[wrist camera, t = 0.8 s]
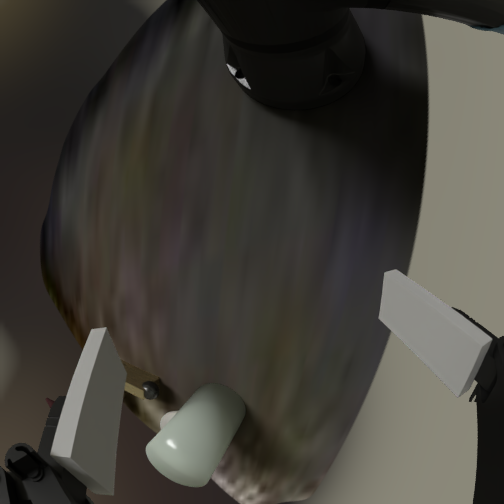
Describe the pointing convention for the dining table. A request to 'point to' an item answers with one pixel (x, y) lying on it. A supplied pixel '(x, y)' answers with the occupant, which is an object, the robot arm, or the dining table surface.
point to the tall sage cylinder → (197, 435)
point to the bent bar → (140, 382)
